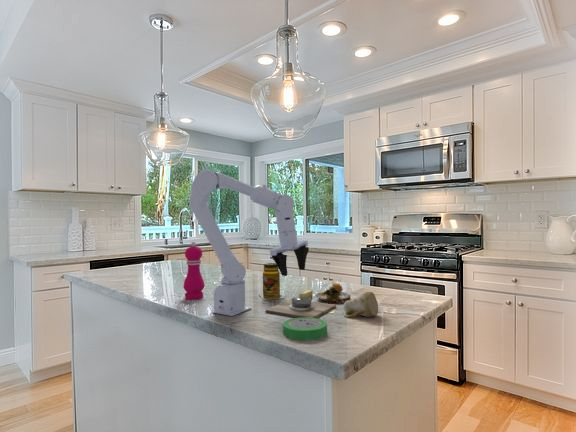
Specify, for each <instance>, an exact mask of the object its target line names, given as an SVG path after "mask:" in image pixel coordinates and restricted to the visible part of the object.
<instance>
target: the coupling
mask: <svg viewBox="0 0 576 432" xmlns="http://www.w3.org/2000/svg"><path fill="white" fill-rule="evenodd" d="M291 299H292V306H294V307H299V308H304V307H310V306H311V302H312V300H313V290H312V289H308V290H305V291H302V292H300V293H299V296H294V297H291Z"/></svg>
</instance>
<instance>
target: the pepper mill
mask: <svg viewBox="0 0 576 432" xmlns="http://www.w3.org/2000/svg"><path fill="white" fill-rule="evenodd" d="M184 255H185V258H186V265H187V273H186V276H185V279H184V282H183V289H184V290H185V293H184V298H185V300H188V301H194V300H195V301H196V300H197V301H198V300H201V299H203V298H204V292H203V290H204V288H205V281H204V278H203V276H202V274H201V269H200V267H201V264H202V262H201V261H202V260H201V258H202V256H203V250H202V249H201V247H199V246H197V243H196V242H195V241H192V242H191V243H190V246H189V247H187V248H186V249H185V252H184Z"/></svg>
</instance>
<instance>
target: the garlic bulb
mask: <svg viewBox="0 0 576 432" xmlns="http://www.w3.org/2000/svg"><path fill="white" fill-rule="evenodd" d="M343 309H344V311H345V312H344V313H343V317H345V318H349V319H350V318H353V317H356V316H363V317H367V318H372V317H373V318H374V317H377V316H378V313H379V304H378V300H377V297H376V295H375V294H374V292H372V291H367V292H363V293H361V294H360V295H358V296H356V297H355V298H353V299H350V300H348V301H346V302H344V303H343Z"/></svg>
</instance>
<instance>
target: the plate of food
mask: <svg viewBox="0 0 576 432" xmlns="http://www.w3.org/2000/svg"><path fill="white" fill-rule="evenodd" d="M341 280H342V279H340V280H339V282H341ZM315 297H317V298H318V299H319V300H321V301H326V302H325V303H326V304H328V303H329V304H332V303H333V304H334V302H336V303H337V304H338V303H341V304H344V303H345V302H346V301H348V300H351V295H350V294H349V293H345V292H343V287H342V284H340V283H337V282H334V283H331V286H330V287H329V288H328V289H326V290H324V291H323V292H319V293H316V295H315Z"/></svg>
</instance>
